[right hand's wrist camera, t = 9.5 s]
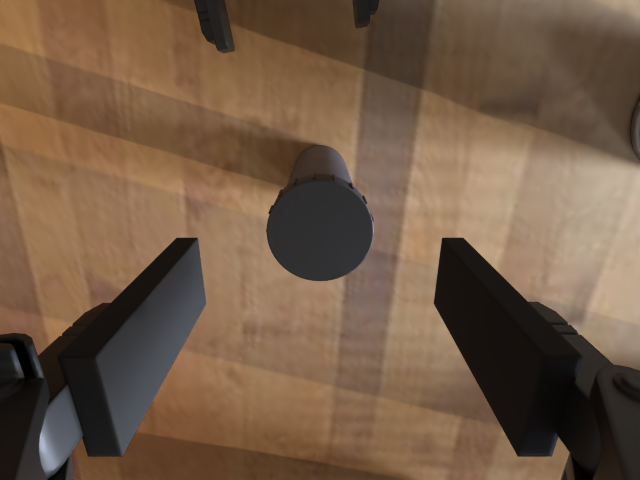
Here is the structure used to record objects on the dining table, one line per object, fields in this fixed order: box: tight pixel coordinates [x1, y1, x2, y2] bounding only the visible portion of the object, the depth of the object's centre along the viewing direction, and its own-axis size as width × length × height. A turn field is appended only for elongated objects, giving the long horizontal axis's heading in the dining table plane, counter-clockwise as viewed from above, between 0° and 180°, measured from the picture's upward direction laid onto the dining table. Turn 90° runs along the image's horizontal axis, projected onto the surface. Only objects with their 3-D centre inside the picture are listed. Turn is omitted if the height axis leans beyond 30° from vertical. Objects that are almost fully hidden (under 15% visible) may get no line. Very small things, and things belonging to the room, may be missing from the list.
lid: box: [266, 173, 374, 281], centre depth 18 cm, size 5×5×2 cm
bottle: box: [287, 145, 352, 186], centre depth 25 cm, size 4×4×15 cm
